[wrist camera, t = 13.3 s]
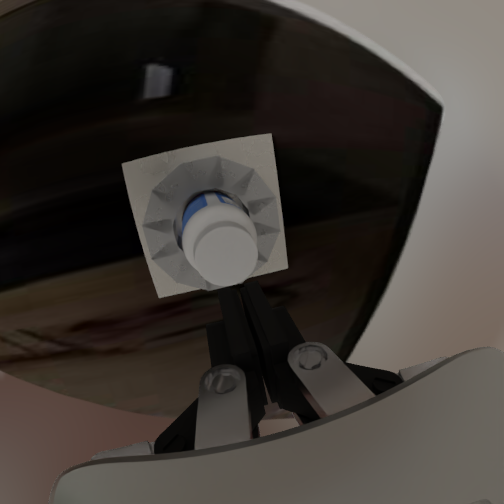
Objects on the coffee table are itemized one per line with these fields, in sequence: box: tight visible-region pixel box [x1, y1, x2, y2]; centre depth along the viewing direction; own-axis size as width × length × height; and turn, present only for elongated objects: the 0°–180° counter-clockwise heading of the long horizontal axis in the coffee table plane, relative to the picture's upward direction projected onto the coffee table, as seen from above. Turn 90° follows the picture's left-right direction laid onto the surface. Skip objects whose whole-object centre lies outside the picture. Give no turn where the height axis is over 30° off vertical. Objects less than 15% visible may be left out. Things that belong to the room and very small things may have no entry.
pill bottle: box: [182, 191, 258, 286], centre depth 21 cm, size 6×5×10 cm
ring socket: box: [122, 134, 288, 298], centre depth 25 cm, size 14×14×4 cm
